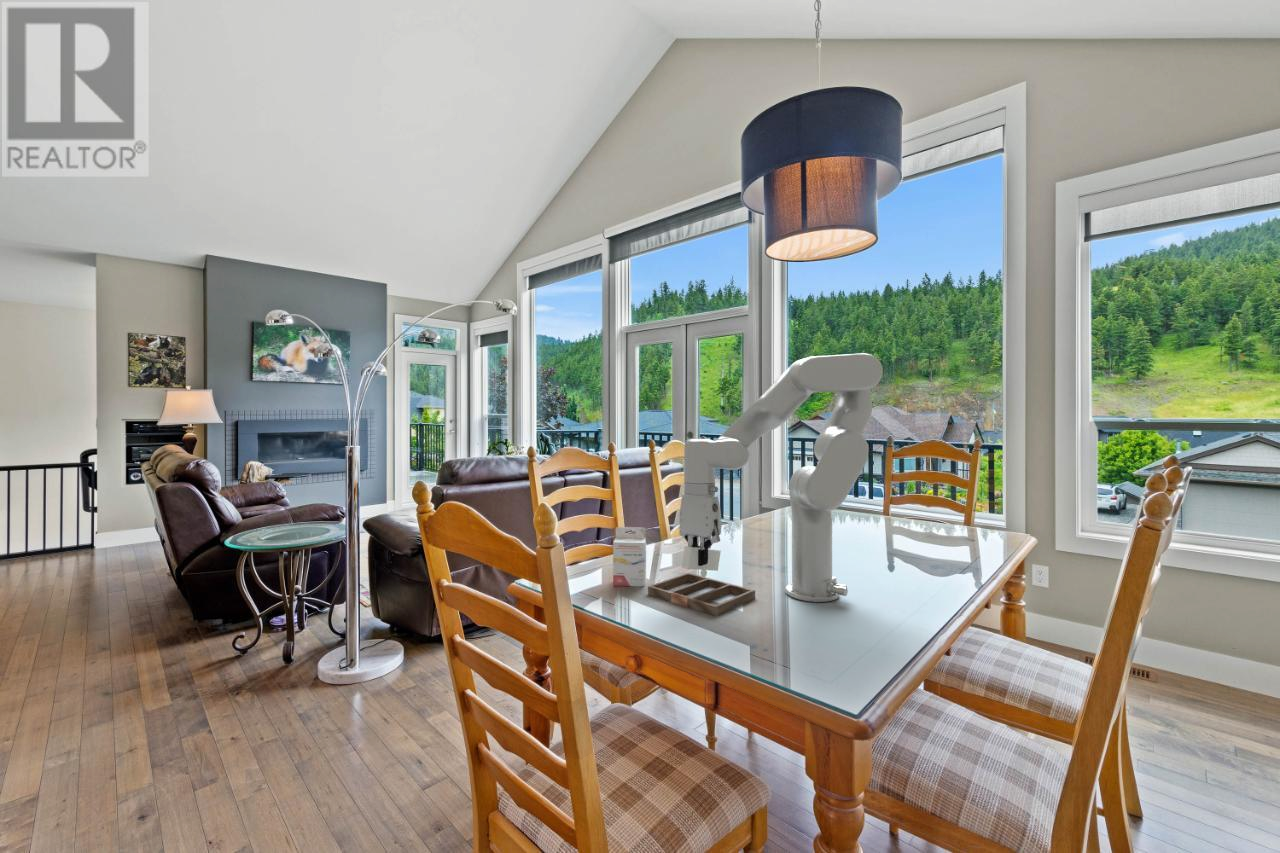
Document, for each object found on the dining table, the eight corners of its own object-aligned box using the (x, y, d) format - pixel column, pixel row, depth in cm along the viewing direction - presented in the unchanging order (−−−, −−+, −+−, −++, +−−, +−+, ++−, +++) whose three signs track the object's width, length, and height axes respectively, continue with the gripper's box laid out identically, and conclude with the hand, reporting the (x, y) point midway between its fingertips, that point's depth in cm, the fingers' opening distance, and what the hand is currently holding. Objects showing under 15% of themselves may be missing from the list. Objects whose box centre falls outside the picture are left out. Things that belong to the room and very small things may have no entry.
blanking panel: (717, 570, 139) (720, 550, 140) (687, 568, 131) (691, 547, 131) (711, 568, 140) (714, 549, 141) (681, 567, 132) (684, 546, 133)
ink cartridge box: (612, 586, 144) (611, 530, 144) (615, 580, 149) (614, 526, 149) (645, 587, 143) (644, 530, 143) (646, 581, 148) (646, 526, 148)
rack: (755, 598, 133) (755, 588, 133) (715, 616, 122) (715, 605, 122) (688, 580, 148) (688, 571, 148) (647, 594, 137) (647, 584, 137)
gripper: (735, 491, 132) (734, 567, 132) (684, 484, 143) (684, 555, 143) (715, 494, 126) (715, 573, 127) (665, 487, 138) (665, 560, 138)
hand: (699, 563), depth 135 cm, fingers closed on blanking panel, 1 cm apart
